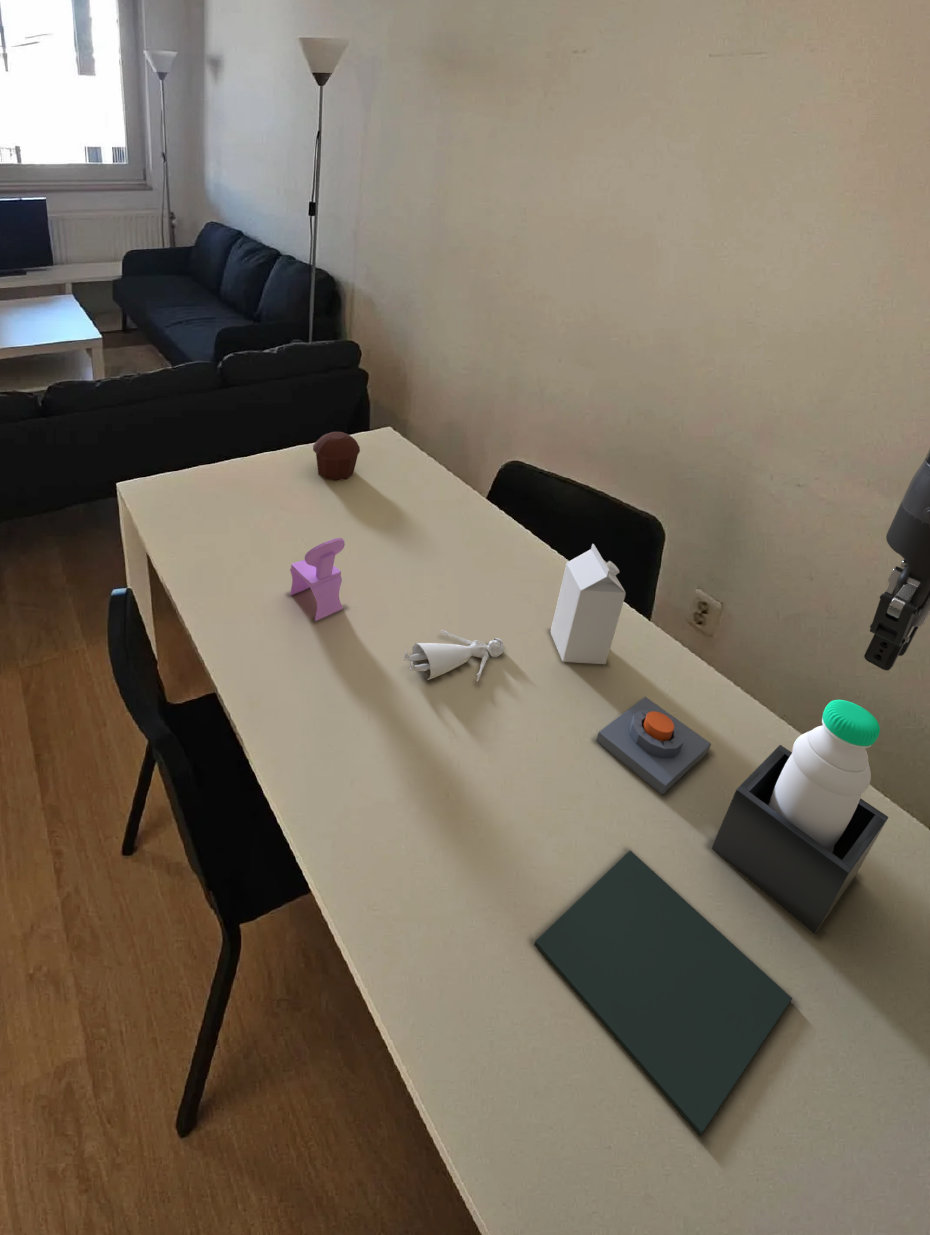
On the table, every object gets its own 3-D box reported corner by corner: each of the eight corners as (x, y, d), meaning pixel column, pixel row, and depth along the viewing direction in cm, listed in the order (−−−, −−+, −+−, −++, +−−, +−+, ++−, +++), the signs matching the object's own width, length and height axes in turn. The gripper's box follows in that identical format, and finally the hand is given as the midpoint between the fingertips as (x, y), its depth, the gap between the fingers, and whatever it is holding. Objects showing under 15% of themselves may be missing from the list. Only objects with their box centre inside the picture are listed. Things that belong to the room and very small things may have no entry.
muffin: (338, 456, 175) (340, 421, 171) (367, 474, 168) (370, 437, 164) (302, 469, 169) (303, 433, 165) (331, 488, 161) (333, 450, 157)
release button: (652, 716, 98) (655, 707, 98) (676, 733, 96) (679, 724, 95) (638, 727, 96) (641, 718, 96) (662, 745, 94) (665, 736, 93)
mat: (628, 855, 83) (630, 849, 83) (789, 1003, 70) (792, 998, 69) (533, 946, 74) (535, 940, 73) (699, 1138, 60) (702, 1133, 60)
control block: (641, 706, 104) (648, 687, 103) (707, 754, 97) (715, 734, 95) (595, 742, 98) (601, 722, 96) (661, 797, 91) (669, 776, 89)
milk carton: (562, 663, 112) (585, 569, 104) (549, 633, 119) (571, 542, 111) (605, 666, 112) (632, 572, 104) (590, 635, 118) (614, 544, 111)
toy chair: (320, 581, 129) (324, 514, 123) (348, 608, 122) (354, 538, 116) (283, 596, 124) (285, 527, 118) (310, 625, 118) (314, 553, 112)
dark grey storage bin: (753, 803, 90) (780, 744, 86) (853, 878, 82) (888, 816, 77) (710, 850, 84) (736, 789, 80) (813, 936, 76) (849, 873, 71)
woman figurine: (393, 626, 112) (486, 612, 118) (389, 648, 113) (481, 632, 120) (426, 679, 102) (526, 660, 108) (421, 701, 103) (520, 681, 109)
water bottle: (813, 854, 84) (890, 705, 74) (818, 906, 79) (902, 753, 69) (747, 825, 87) (812, 678, 77) (748, 873, 82) (818, 722, 72)
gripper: (985, 559, 56) (903, 711, 63) (1028, 511, 64) (951, 652, 71) (877, 516, 62) (813, 660, 69) (929, 477, 70) (866, 611, 76)
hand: (884, 656), depth 70 cm, fingers open, 3 cm apart
